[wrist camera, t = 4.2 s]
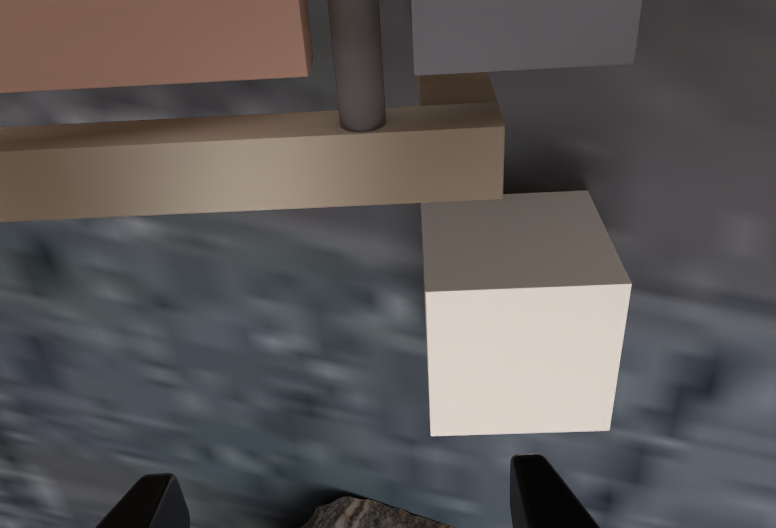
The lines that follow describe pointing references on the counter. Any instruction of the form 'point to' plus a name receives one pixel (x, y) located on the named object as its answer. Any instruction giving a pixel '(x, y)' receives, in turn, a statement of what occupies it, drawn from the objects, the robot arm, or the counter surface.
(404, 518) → the rock
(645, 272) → the counter surface
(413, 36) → the trapdoor
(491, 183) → the frame
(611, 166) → the counter surface
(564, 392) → the limestone block
